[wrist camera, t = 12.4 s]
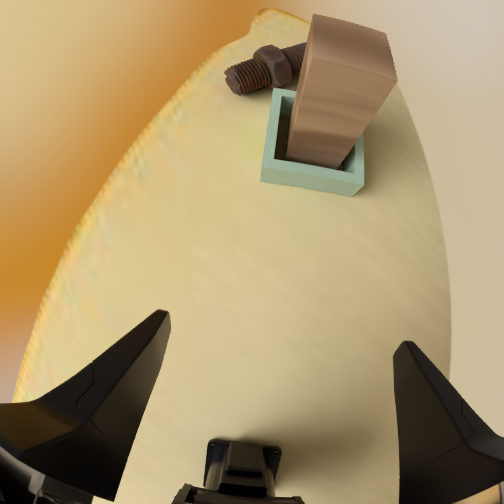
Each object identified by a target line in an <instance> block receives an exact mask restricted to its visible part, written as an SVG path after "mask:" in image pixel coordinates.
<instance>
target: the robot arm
mask: <svg viewBox="0 0 504 504" xmlns="http://www.w3.org/2000/svg"><path fill="white" fill-rule="evenodd" d="M170 331H171V322H170V314H169V312H168V311H166V310H161V309H158V310H156V311H155V312H154V313H152V314H151V315H150V316H149V317H147V318H146V319H145V320H144V321H142V322H141V323H140V324H138V325H137V326H136V327H135V328H133V329H132V330H131V331H130V332H128V333H127V334H126V335H125V336H123V337H122V338H121V339H120V340H118V341H117V342H116V343H115V344H113V345H112V346H111V347H110V348H108V349H107V350H106V351H105V352H103V353H102V354H101V355H100V356H98V357H97V358H96V359H95V360H93V361H92V363H90V364H88V365H87V366H86V367H85V368H83V369H82V370H81V371H79V372H78V373H77V374H76V375H74V376H73V377H71V378H70V379H68V380H67V381H65V382H64V383H62V384H61V385H59V386H58V387H56V388H54V389H53V390H51V391H50V392H48V393H46V394H45V395H43V396H42V397H40V398H38V399H36V400H33V401H30V402H22V403H3V404H2V403H1V404H0V504H92V501H93V498H94V496H96V497H99V498H102V499H105V500H109V501H112V502H114V500H115V497H116V494H117V490H118V487H119V484H120V481H121V478H122V475H123V472H124V469H125V466H126V463H127V460H128V459H127V458H128V456H129V454H130V451H131V448H132V445H133V442H134V439H135V436H136V433H137V431H138V428H139V425H140V422H141V419H142V417H143V414H144V411H145V409H146V406H147V403H148V400H149V398H150V395H151V392H152V390H153V387H154V385H155V382H156V379H157V377H158V374H159V372H160V369H161V366H162V362H163V358H164V354H165V350H166V347H167V343H168V339H169V335H170ZM393 368H394V394H395V403H396V413H397V425H398V440H399V466H400V479H399V504H504V437H501V436H499V435H497V434H496V433H494V432H493V431H492V429H491V428H490V427H489V426H488V425H487V424H486V423H485V422H484V421H483V420H482V419H481V418H480V417H479V416H478V415H477V414H476V413H475V412H474V410H473V409H472V408H471V407H470V406H469V405H468V404H467V402H466V401H465V400H464V399H463V398H462V397H461V395H460V394H459V393H458V392H457V390H456V389H455V388H454V387H453V386H452V385H451V383H450V382H449V381H448V380H447V379H446V378H445V376H444V375H443V374H442V373H441V372H440V371H439V370H438V368H437V367H436V366H435V365H434V364H433V363H432V362H431V361H430V360H429V358H428V357H427V356H426V355H425V354H424V353H423V352H422V351H421V350H420V348H419V347H418V346H417V345H416V344H415V343H414V342H413V341H403V342H402V343H401V344H400V346H399V347H398V349H397V350H396V351H395V353H394V356H393ZM211 444H215V445H216V446H213V445H211ZM275 451H278V452H277V453H274V452H275ZM281 454H282V451H281V448H279V447H273V446H261V445H258V444H248V443H240V442H227V441H221V440H214V439H212V440H210V441H209V442H208V447H207V456H206V465H205V474H204V483H203V486H204V487H205V489H204V488H199V487H194V486H192V485H190V484H186V483H185V484H184V486H183V488H182V489H180V490H179V492H178V493H177V495H176V496H175V497H174V500H173V502H172V504H305V503H304V502H303V500H302V499H301V497H300V496H293V497H275V489H274V481H275V477H276V473H277V470H278V466H279V462H280V458H281Z"/></svg>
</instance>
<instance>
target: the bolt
mask: <svg viewBox="0 0 504 504" xmlns="http://www.w3.org/2000/svg"><path fill="white" fill-rule="evenodd" d="M306 45H307V42H306V43H302V44H298V45H295V46H292V47H287V48H284V49H281V50H280V49H279V48H277V47H275V46H273V45H267V46H264V47H261V48H259V49H258V50H257V51H256V52H255V53H254V55H253V59H250V60H247V61H244V62H241V63H240V64H239V63H238V64H237V65H234V66H231V67H230V68H228V69H227V70H225V72H224V73H225V75H226V76H227V77H226V79H225V80H226V83H227V84H228V86H229V87H230V89H231V90H232V91H233V93H235V94H238V95H239V96H241V95H244V94H247V92H251V91H254V90H257V88H258V89H259V88H260V87H261V88H263V86H264V87H265V86H266V87H267V88H269V89H271V90H273V88H280V87H283V86H285V85H287V84H289V83H291V80H292V77H293V76H296V75H299V74H300V72H301V68H302V63H303V59H304V54H305V49H306Z"/></svg>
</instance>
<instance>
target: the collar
mask: <svg viewBox="0 0 504 504" xmlns="http://www.w3.org/2000/svg"><path fill="white" fill-rule="evenodd" d="M295 95H296V91H292V90H285V89H279V88H273V94H272V100H271V107H270V114H269V120H268V127H267V134H266V141H265V147H264V154H263V161H262V168H261V180H260V182H268V183H274V184H281V185H288V186H294V187H300V188H306V189H312V190H318V191H323V192H329V193H334V194H339V195H344V196H349V197H352V196H353V195H354V194H355V193H356V192H357V191H359V190H360V189H361V188H362V187H363V186H364V133H362V134H361V136H360V137H359V138H358V140H357V141H356V143H355V144H354V146H353V147H352V148H351V150H350V151H349V153H348V154H347V156H346V157H345V158H344V171H339V170H334V169H329V168H324V167H318V166H313V165H307V164H301V163H295V162H289V161H283V160H276V159H274V152H275V145H276V137H277V129H278V121H279V115H286V116H291V113H292V108H293V104H294V99H295Z"/></svg>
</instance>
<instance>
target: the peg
mask: <svg viewBox="0 0 504 504" xmlns="http://www.w3.org/2000/svg"><path fill="white" fill-rule="evenodd" d="M396 83H397V75H396V71H395V67H394V63H393V58H392V54H391V50H390V46H389V43H388V40H387V36H386V33H383V32H380V31H377V30H374V29H371V28H368V27H364V26H361V25H358V24H354V23H351V22H346V21H343V20H339V19H335V18H331V17H326V16H321V15H317V14H313V17H312V22H311V26H310V31H309V35H308V40H307V45H306V49H305V54H304V59H303V63H302V68H301V72H300V77H299V81H298V86H297V90H296V95H295V99H294V104H293V108H292V113H291V117H290V122H289V128H288V137H287V146H286V154H285V161H289V162H295V163H301V164H307V165H313V166H318V167H324V168H329V169H334V170H337V168H338V167H339V166H340V164H341V163H342V161H343V160H344V158H345V157H346V156H347V154H348V153H349V151H350V150H351V148H352V147H353V146H354V144H355V143H356V141H357V140H358V138H359V137H360V136H361V134H362V133H363V131H364V130H365V128H366V127H367V125H368V124H369V123H370V121H371V120H372V118H373V117H374V115H375V114H376V112H377V111H378V109H379V108H380V107H381V105H382V104H383V102H384V101H385V99H386V98H387V96H388V95H389V93H390V92H391V90H392V89H393V87H394V86H395V84H396Z"/></svg>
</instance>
